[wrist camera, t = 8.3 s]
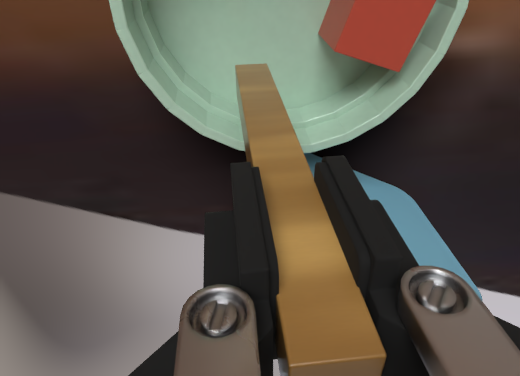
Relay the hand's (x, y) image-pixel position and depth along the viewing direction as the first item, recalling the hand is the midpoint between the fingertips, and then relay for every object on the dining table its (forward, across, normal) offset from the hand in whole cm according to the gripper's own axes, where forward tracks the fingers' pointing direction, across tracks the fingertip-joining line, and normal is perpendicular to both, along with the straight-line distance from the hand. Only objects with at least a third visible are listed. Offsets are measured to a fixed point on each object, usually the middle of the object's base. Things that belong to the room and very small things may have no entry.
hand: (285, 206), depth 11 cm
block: (+16, -7, -2) cm, 17 cm away
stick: (+11, 0, 0) cm, 11 cm away
